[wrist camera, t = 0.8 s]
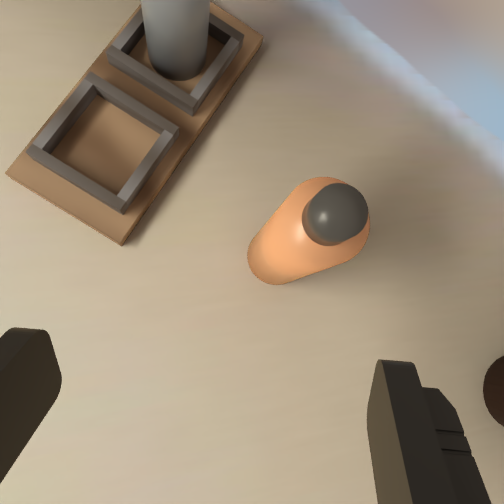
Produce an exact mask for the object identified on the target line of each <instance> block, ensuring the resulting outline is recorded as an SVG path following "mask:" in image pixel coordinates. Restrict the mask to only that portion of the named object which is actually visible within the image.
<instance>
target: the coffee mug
mask: <svg viewBox="0 0 504 504" xmlns="http://www.w3.org/2000/svg"><path fill="white" fill-rule="evenodd" d="M483 394H484V400H485V403H486V406H487V408H488V410H489V412H490V414H491V415H492V416H493V418H494V419H495V420H496V421H497V422H498V423H499V424H501V425H502V426H504V356H503V357H501V358H499V359H497V360H496V361H495V362H494V363H493V364H492V365H491V366H490V368H489V369H488V371H487V373H486V375H485V379H484V384H483Z"/></svg>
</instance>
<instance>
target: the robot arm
mask: <svg viewBox="0 0 504 504" xmlns="http://www.w3.org/2000/svg"><path fill="white" fill-rule="evenodd" d="M61 382H62V377H61V372H60V368H59V365H58V362H57V358H56V355H55V352H54V349H53V345H52V342H51V339H50V336H49V334H48V332H47V331H45V330H40V329H28V328H16V327H15V328H11V329H9V330H8V331H7V332H5V333H4V335H3V336H2V337H1V338H0V483H1V482H2V480H3V479H4V477H5V476H6V474H7V473H8V471H9V470H10V468H11V467H12V465H13V464H14V462H15V461H16V459H17V458H18V456H19V455H20V453H21V452H22V450H23V449H24V447H25V446H26V444H27V443H28V441H29V440H30V438H31V437H32V435H33V434H34V432H35V431H36V429H37V428H38V426H39V425H40V423H41V422H42V420H43V419H44V417H45V416H46V414H47V413H48V411H49V410H50V408H51V407H52V405H53V404H54V402H55V400H56V399H57V397H58V394H59V392H60V388H61ZM367 431H368V439H369V445H370V452H371V459H372V466H373V473H374V480H375V487H376V493H377V500H378V504H491V501H490V499H489V496H488V493H487V491H486V488H485V486H484V483H483V480H482V478H481V475H480V472H479V470H478V467H477V465H476V462H475V459H474V457H472V455H471V452H472V451H471V449H470V446H469V444H468V441H467V438H466V437H464V430H463V428H462V425H461V423H460V420H459V417H458V415H457V412H456V409H455V408H454V407H453V406H452V404H451V403H450V402H449V401H448V400H447V399H446V397H445V396H444V395H443V394H442V393H441V392H440V390H439V389H436V388H425V387H422V386H421V383H420V380H419V377H418V373H417V370H416V367H415V365H414V364H413V363H412V362H403V361H392V360H378V361H377V364H376V368H375V373H374V378H373V382H372V387H371V392H370V397H369V402H368V408H367Z"/></svg>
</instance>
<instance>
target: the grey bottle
mask: <svg viewBox="0 0 504 504" xmlns="http://www.w3.org/2000/svg"><path fill="white" fill-rule="evenodd" d="M141 7H142V14H143V21H144V28H145V35H146V42H147V48H148V55H149V60H150V63H151V65H152V67H153V68H154V69H155V70H156V72H158V73H159V74H160V75H161V76H163V77H165V78H167V79H170V80H174V81H185V80H189V79H192V78H194V77H195V76H197V75H198V74H199V73H200V72H201V71H202V69H203V68H204V65H205V62H206V53H207V40H208V26H209V13H210V0H141Z"/></svg>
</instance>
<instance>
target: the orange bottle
mask: <svg viewBox="0 0 504 504" xmlns="http://www.w3.org/2000/svg"><path fill="white" fill-rule="evenodd" d="M369 229H370V219H369V213H368V207H367V203H366V201H365V199H364V197H363V196H362V194H361V193H360V192H359V191H358V190H357V189H355V188H354V187H352V186H350V185H348V184H347V183H345V182H343V181H341V180H338V179H335V178H330V177H317V178H313V179H309V180H307V181H305V182H303V183H301V184H300V185H299V186H297V187H296V188H295V189H294V190H293V191H292V193H291V194H290V195H289V196H288V197H287V199H286V200H285V201H284V202H283V203H282V205H281V206H280V207H279V208H278V209H277V211H276V212H275V213H274V214H273V215H272V217H271V218H270V219H269V220H268V221H267V223H266V224H265V225H264V226H263V227H262V229H261V230H260V231H259V232H258V233H257V235H256V236H255V237H254V238H253V240H252V241H251V243H250V245H249V248H248V255H247V256H248V263H249V266H250V268H251V270H252V272H253V273H254V275H255V276H256V277H257V278H259V279H260V280H261V281H263V282H265V283H268V284H272V285H280V284H285V283H288V282H290V281H293V280H296V279H299V278H302V277H305V276H307V275H310V274H313V273H316V272H319V271H321V270H324V269H327V268H330V267H333V266H335V265H338V264H341V263H344V262H346V261H348V260H350V259H352V258H353V257H354V256H356V255H357V254H358V253H359V252H360V250H361V249H362V248H363V246H364V245H365V243H366V241H367V238H368V235H369Z"/></svg>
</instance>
